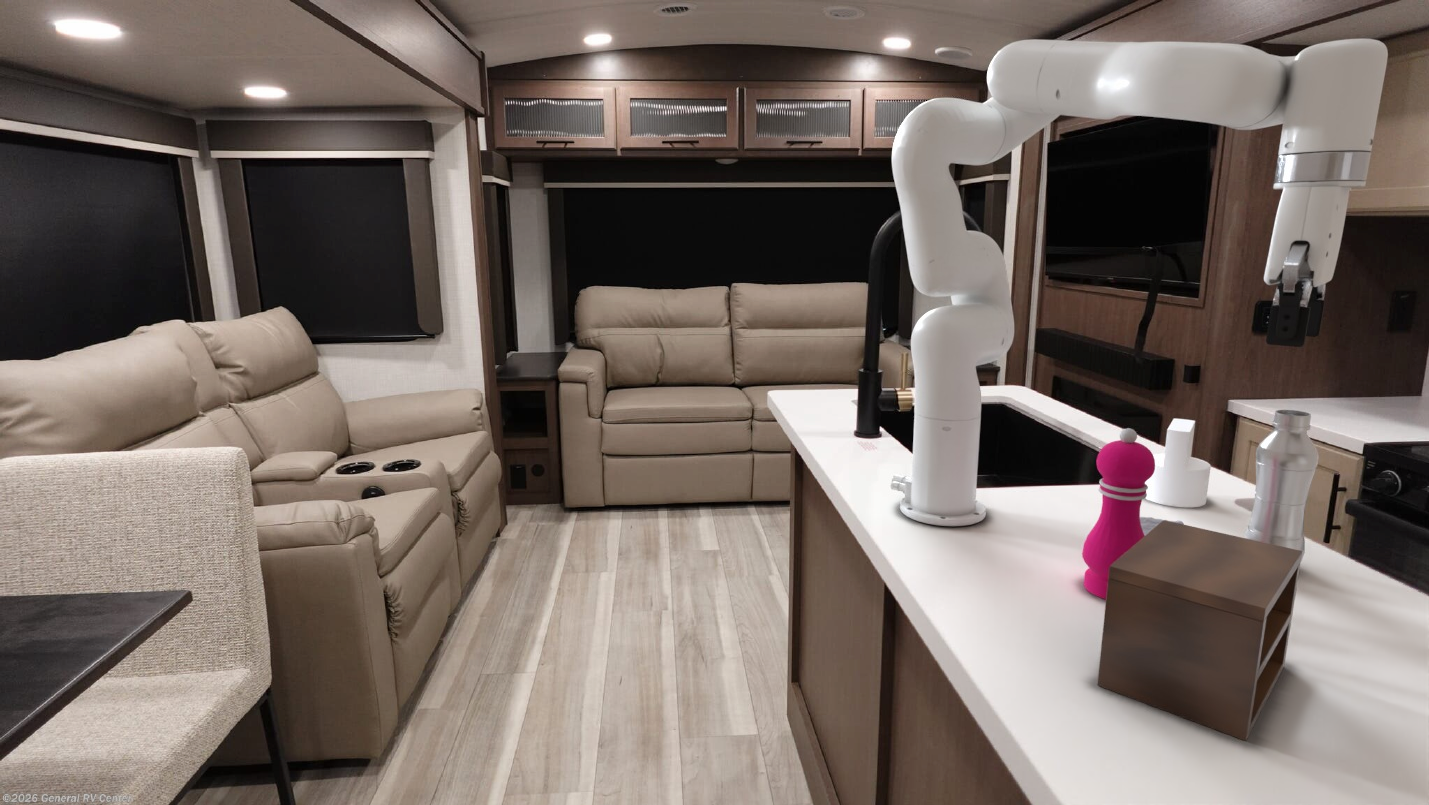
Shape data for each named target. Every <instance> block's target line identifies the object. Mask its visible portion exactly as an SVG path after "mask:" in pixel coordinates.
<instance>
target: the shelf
mask: <svg viewBox="0 0 1429 805" xmlns="http://www.w3.org/2000/svg"><path fill="white" fill-rule="evenodd" d="M1162 520H1163V521H1162V522H1161V523H1159V524H1158V525H1157V526H1156V527H1155V528H1154V529H1152V530H1151V531H1150V532H1149V533H1148V534H1147V535H1145V536H1144V537H1143V538H1142V539H1141V540H1140V541H1138V542H1137V543H1136V544H1135V545H1134V546H1133V547H1131V548H1130V549H1129V550H1128V551H1127V552H1126V553H1124V554H1123V555H1122V556H1121V557H1120V558H1119V559H1117V560H1116V561H1115V562H1114V563H1113V564H1112V565H1110V566H1109V576H1108V586H1107V596H1106V599H1105V607H1104V617H1103V626H1102V636H1101V644H1100V655H1099V666H1098V673H1097V674H1098V675H1097V683H1096V684H1097V686H1099V687H1101V688H1104V689H1107V690H1109V691H1111V692H1115V693H1117V694H1119V695H1122V696H1125V697H1128V698H1131V699H1133V700H1136V701H1138V702H1141V703H1144V704H1146V705H1148V706H1151V707H1155V708H1157V709H1160V710H1162V711H1165V712H1168V713H1170V714H1173V715H1175V716H1178V717H1180V718H1183V719H1186V720H1189V721H1191V722H1194V723H1196V724H1199V725H1202V726H1205V727H1208V728H1210V729H1213V730H1215V731H1219V732H1221V733H1223V734H1226V735H1229V736H1231V737H1235V738H1237V739H1239V740H1243V741H1247V739H1248V737H1249V735H1250V733H1251V732H1252V730H1253V727H1254V726H1255V724H1256V721H1257V720H1258V718H1259V716H1260V714H1261V712H1262V710H1263V709H1264V706H1265V704H1266V702H1267V701H1268V698H1269V696H1270V695H1271V693H1272V691H1273V689H1274V687H1275V686H1276V683H1277V681H1278V679H1279V678H1280V675H1281V674H1282V671H1283V669H1284V668H1285V663H1286V657H1287V651H1288V644H1289V639H1290V633H1291V626H1292V619H1293V613H1294V608H1295V607H1294V606H1295V601H1296V594H1297V590H1298V589H1297V588H1298V583H1299V575H1300V570H1301V564H1302V561H1301V557H1302V551H1300V550H1295V549H1291V548H1286V547H1282V546H1277V545H1273V544H1269V543H1264V542H1260V541H1255V540H1251V539H1246V538H1244V537H1241V536H1237V535H1232V534H1227V533H1223V532H1220V531H1219V532H1218V531H1215V530H1210V529H1205V528H1201V527H1198V526H1197V527H1196V526H1191V525H1189V524H1184V525H1183V524H1179V523H1175V522H1170V521H1171V520H1168V521H1166V520H1167V519H1162Z"/></svg>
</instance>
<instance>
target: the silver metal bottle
mask: <svg viewBox="0 0 1429 805" xmlns="http://www.w3.org/2000/svg"><path fill="white" fill-rule="evenodd" d="M1311 420H1312V414H1311V413H1309V412H1306V411H1303V410H1295V409H1277V410H1275V412H1274V417H1273V421H1272V427H1274V429H1273V430H1272V431H1271V432H1270V433H1269V434H1267V435H1266V436H1265V437H1264V439H1262V441H1260V443H1259V444H1258V446H1257V448H1256V450H1255V478H1256V479H1255V480H1256V481H1255V493H1254V502H1253V506H1252V510H1251V515H1250V518H1249V523H1248V525H1247V527H1246V529H1245V532H1244V535H1243V538H1246V539H1251V540H1255V541H1260V542H1264V543H1269V544H1273V545H1277V546H1282V547H1286V548H1291V549H1295V550H1300V551H1302V557H1301V562H1302V561H1303V558H1304V556H1305V553H1306V552H1305V551H1306V550H1305V548H1306V547H1305V546H1306V545H1305V543H1306V542H1305V535H1304V530H1305V529H1304V528H1305V514H1306V513H1305V511H1306V506H1307V500H1308V497H1309V492H1310V488H1311V486H1312V482H1313V479H1314V476H1315V473H1316V470H1317V467H1318V465H1319V464H1318V463H1319V460H1320V457H1319V451H1318V449H1317V447H1316V446H1315V444H1314V442H1313V440H1312V439H1311V438H1310V436H1309V434H1308V433H1307V432H1308V431H1310V430H1311Z"/></svg>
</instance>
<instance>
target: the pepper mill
mask: <svg viewBox="0 0 1429 805" xmlns="http://www.w3.org/2000/svg"><path fill="white" fill-rule="evenodd" d="M1119 439H1120V440H1113V441H1110V442H1108V443H1106V444H1105V445H1104V446H1102V448H1100V450H1099V452H1098V454H1097V456H1096V469H1097V471H1098V472H1099V474H1100V475H1101V477H1102V478H1100V479H1099V481H1098V483H1099V487H1098V492H1099V493H1100V494H1101V496H1102V504H1101V510H1100V514H1099V516H1098V518H1097V521H1096V523H1094V526H1093V527H1092V529H1091V530H1090V531H1089V533H1088V535H1087V536H1086V538H1085V540H1084V543H1083V546H1082V552H1081V555H1082V556H1081V557H1082V559H1083V561H1084V563H1085V564H1086V566H1087V567H1088V568H1087V569H1086V570H1085V571H1084V578H1083V586H1084V588H1085V590H1087V592H1089V593H1090V594H1092V595H1094V596H1095V597H1098V598H1101V599H1103V600H1106V596H1107V586H1108V576H1109V566H1110V565H1112V564H1113V563H1114V562H1115V561H1116V560H1117V559H1119V558H1120V557H1121V556H1122V555H1123V554H1124V553H1126V552H1127V551H1128V550H1129V549H1130V548H1131V547H1133V546H1134V545H1135V544H1136V543H1137V542H1138V541H1140V540H1141V539H1142V538H1143V537H1144V536H1145V535H1144V533H1143V530H1142V527H1141V523H1140V517H1141V507H1142V506H1141V505H1142V502H1143V500H1144V499H1146V497H1147V493H1146V490H1147V489H1148V486H1147V485H1146V484H1145V482H1146V481H1147V480H1148V479H1149V478H1150V477H1151V476H1152V475H1153V473H1154V471H1155V459H1154V456H1153V453H1152V450H1150V449H1149V448H1148V447H1147V446H1145V445H1144V444H1142V443H1140V442H1136V441H1137V439H1138V434H1137V432H1136V431H1135V429H1133V428H1129V427H1127V428H1123V429H1122V430H1121V431H1120V433H1119Z"/></svg>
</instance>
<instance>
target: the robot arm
mask: <svg viewBox="0 0 1429 805" xmlns="http://www.w3.org/2000/svg"><path fill="white" fill-rule="evenodd" d="M1388 51H1389V50H1388V47H1387V46H1386V44H1385V43H1384V42H1382V41H1380V40H1378V39H1373V38H1347V39H1337V40H1331V41H1325V42H1320V43H1317V44H1313V45H1310V46H1308V47H1306V48H1304V49H1302V50H1301V51H1299V52H1298V54H1297V55H1293V56H1291V55H1290V56H1279V55H1275V54H1272V53H1271V54H1269V53H1268V52H1266V51H1264V50H1262V49H1260V48H1256V47H1253V46H1250V45H1246V44H1241V43H1229V42H1204V41H1203V42H1202V41H1198V42H1197V41H1142V42H1141V41H1140V42H1139V41H1087V40H1085V41H1084V40H1063V39H1062V40H1061V39H1037V38H1036V39H1035V38H1034V39H1022V40H1017V41H1013V42H1010V43H1008V44H1007V45H1005V46H1003V47H1002V48H1001V49H1000V50H998V51H997V53H996V54H995V55H994V57H993V58H992V60H991V61H990V63H989V66H988V68H987V73H986V84H987V89H988V91H989V94H990V95H991V97H990V98H989V99H987V100H986V101H984V102H977V101H973V100H967V99H963V98H956V97H937V98H932V99H929V100H927V101H924V102H922V103H921V104H918V106H916V107H915V108H913V109H912V110H911V111H910V112H909V113H908V115H907V116H906V117H905V118H904V119H903V122H902V123H901V125H899V127H898V130H897V133H896V135H895V138H894V140H893V141H894V142H893V145H892V150H891V170H892V176H893V180H894V185H895V190H896V193H897V198H898V202H899V207H900V213H901V221H902V222H901V223H902V229H903V235H904V242H905V249H906V255H907V263H908V270H909V273H910V278H911V281H912V284H913V286H914V288H915V289H916V290H917V291H918V292H919V293H921V294H922V295H924V296H928V297H932V298H945V297H950V299H951V300H950V301H951V304H948V305H943V306H939V307H936V308H933V309H931V310H929V311H927V312H926V313H925V314H923V315H922V316H921V317H920V318H919V319H918V320H917V322H916V323H915V326H914V327H913V329H912V332H911V337H910V350H911V351H910V352H911V358H912V360H911V361H912V365H913V375H914V406H913V407H914V408H913V413H914V416H913V418H914V419H913V442H912V461H911V462H912V464H911V466H912V467H911V477H909V476H908V477H907V476H906V475H902V474H898V473H896V474H894V475H893V476H892V478H891V483H890V489H891V490H892V491H898V492H902V493H903V494H904V497H903V498H902V499H901V500H900V502H899V503H900V505H899V509H900V511H901V513H902V514H903V515H904V516H906V517H907V518H909V519H911V520H913V521H916V522H920V523H923V524H928V525H932V526H940V527H964V526H965V527H966V526H972V525H974V524H978V523H980V522H982V521H983V520H984V519H985V518H986V515H987V514H986V512H987V509H986V506H985V505H984V504H983V503H982V502H981V501H979V500H977V487H978V486H977V484H978V469H979V455H980V454H979V452H980V436H981V435H980V434H981V420H982V390H981V386H980V380H979V377H978V373H977V367H979V366H982V365H987V364H990V363H993V362H996V361H997V360H1000V359H1001V358H1003V357H1004V356H1005V355H1006V354H1007V353H1008V352H1009V350H1010V348H1011V347H1012V344H1013V342H1014V339H1015V319H1014V311H1013V304H1012V298H1011V291H1010V285H1009V277H1008V271H1007V266H1006V261H1005V257H1004V255H1003V251H1002V249H1001V248H1000V246H999V244H998V243H997V242H996V241H995V240H994V239H993V238H992V237H991V236H989V235H988V234H986V233H984V232H981V231H979V230H978V231H977V230H967V226H966V223H965V217H964V212H963V205H962V204H963V203H962V198H961V195H960V190H959V189H958V186H957V184H956V182H955V180H954V179H953V176H952V175H951V172H950V165H951V164H958V165H968V166H969V165H970V166H983V165H988V164H992V163H994V162H996V161H998V160H1000V159H1002V158H1003V157H1005V156H1007V155H1008V154H1009V153H1010V152H1012V151H1013V150H1015V149H1016V148H1017V147H1019V146H1020V145H1021V144H1024V143H1025V142H1026V141H1028V140H1029V139H1031V138H1032V137H1033V136H1034V135H1036V134H1037V133H1038V132H1040V131H1041V130H1043V129H1044V128H1046V127H1047V126H1048V125H1050V124H1051V123H1053V122H1054V121H1055V120H1056V119H1058V118H1059V117H1060V116H1067V117H1076V118H1077V117H1078V118H1087V119H1094V120H1113V119H1116V118H1118V117H1122V116H1134V117H1135V116H1136V117H1137V116H1138V117H1140V116H1141V117H1150V118H1151V117H1153V118H1162V119H1171V120H1180V121H1182V120H1183V121H1190V122H1199V123H1206V124H1212V125H1217V126H1223V127H1226V128H1228V129H1229V128H1230V129H1233V130H1239V131H1252V130H1258V129H1264V128H1269V127H1274V126H1279V125H1282V129H1281V135H1280V142H1279V148H1278V154H1277V160H1276V161H1277V162H1276V166H1275V175H1274V181H1273V186H1272V188H1273V189H1272V190H1282V193H1281V195H1280V199H1279V203H1278V207H1277V210H1276V213H1275V214H1276V215H1275V219H1274V224H1273V229H1272V233H1271V234H1272V235H1271V239H1270V244H1269V248H1268V249H1269V250H1268V255H1267V259H1266V265H1265V269H1264V274H1263V281H1264V283H1265V284H1266V285H1268V286H1275V285H1277V286H1276V289H1275V292H1274V296H1273V299H1272V304H1271V305H1270V312H1269V317H1268V324H1267V331H1266V336H1265V337H1266V338H1265V343H1266V344H1267V345H1271V346H1272V345H1273V346H1279V347H1280V346H1282V347H1292V348H1301V347H1303V346H1304V345H1305V343H1306V339H1307V337H1311V338H1317V337H1318V336H1319V335H1320V333H1321V329H1322V328H1321V327H1322V324H1323V323H1322V322H1323V318H1324V317H1323V316H1324V310H1325V304H1326V299H1325V294H1326V284H1327V283H1329V282H1331V281H1332V279H1333V277H1334V273H1335V270H1336V266H1337V261H1338V258H1339V253H1340V248H1341V243H1342V238H1343V233H1344V227H1345V221H1346V217H1347V210H1348V204H1349V197H1350V190H1351V189H1357V188H1359V189H1360V188H1365V187H1366V184H1367V178H1368V173H1369V168H1370V167H1369V166H1370V160H1371V155H1372V149H1373V144H1374V137H1375V134H1376V133H1375V132H1376V127H1377V121H1378V115H1379V109H1380V104H1381V97H1382V93H1383V86H1384V82H1385V81H1384V80H1385V75H1386V70H1387V65H1388V57H1389V53H1388Z"/></svg>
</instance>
